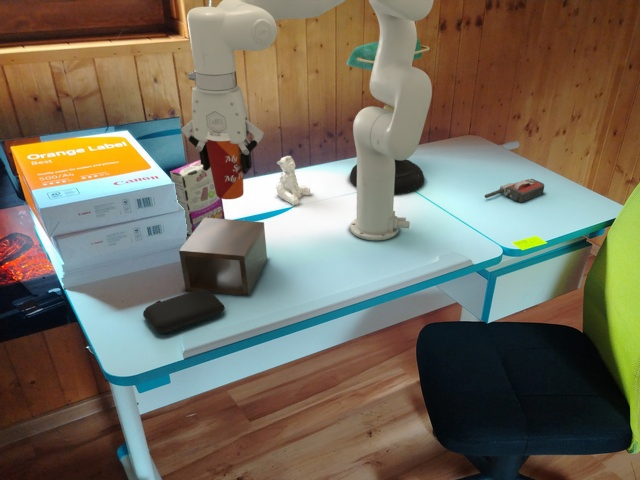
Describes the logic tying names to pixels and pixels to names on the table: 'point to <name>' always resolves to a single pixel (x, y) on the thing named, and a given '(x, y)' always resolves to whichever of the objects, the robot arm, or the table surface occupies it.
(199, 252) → the shelf
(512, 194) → the walkie-talkie
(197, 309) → the carrying case
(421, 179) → the banker's lamp
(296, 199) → the seated beast figurine
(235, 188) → the paper cup
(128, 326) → the table surface
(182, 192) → the candy bar box
